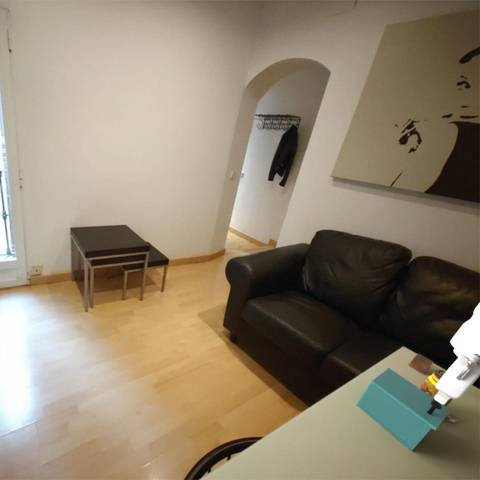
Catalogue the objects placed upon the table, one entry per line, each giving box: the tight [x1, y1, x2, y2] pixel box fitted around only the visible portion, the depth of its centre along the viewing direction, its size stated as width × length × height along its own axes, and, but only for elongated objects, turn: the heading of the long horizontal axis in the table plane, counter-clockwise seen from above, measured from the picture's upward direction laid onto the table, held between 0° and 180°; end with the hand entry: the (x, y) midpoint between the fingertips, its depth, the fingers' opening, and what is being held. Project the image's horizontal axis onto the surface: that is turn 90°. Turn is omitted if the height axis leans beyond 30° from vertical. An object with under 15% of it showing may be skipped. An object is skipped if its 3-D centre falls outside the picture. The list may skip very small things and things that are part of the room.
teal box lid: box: [370, 367, 452, 432], centre depth 67 cm, size 13×11×5 cm
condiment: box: [418, 369, 457, 424], centre depth 74 cm, size 7×8×12 cm
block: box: [408, 353, 434, 375], centre depth 90 cm, size 4×4×4 cm
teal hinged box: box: [356, 382, 433, 452], centre depth 70 cm, size 13×11×9 cm
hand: (445, 392), depth 62 cm, fingers open, 8 cm apart
